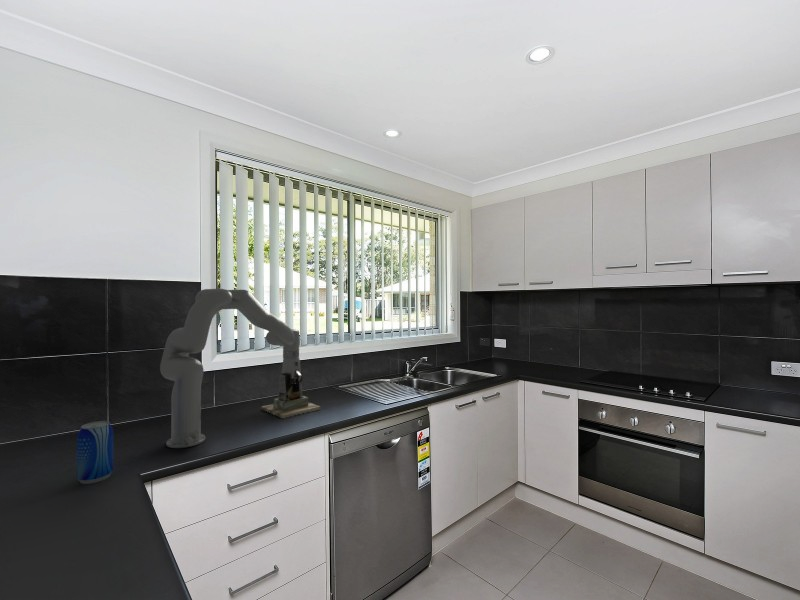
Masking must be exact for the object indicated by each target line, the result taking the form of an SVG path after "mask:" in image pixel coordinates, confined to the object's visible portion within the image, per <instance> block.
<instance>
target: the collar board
mask: <svg viewBox="0 0 800 600" xmlns="http://www.w3.org/2000/svg"><path fill="white" fill-rule="evenodd" d="M261 410H262V411H263V412H266V411H267V413H268V412H269V414H271V415H273V416H275V415H276V417H277V416H278V418H280V419H282V418H283V419H287V418H291V417H295V416H294V415H296V416H298V414H300V415H304V414H307V412H308V413H311V412H316V411H319V410H321V406H320V405H317V404H314V403H312V402H309V397H308V396H305V395H302V398H301V399H296V400H291V401H286V402H284V401H282V400H279V397H276V398H273V403H270V404H267V405H262V406H261ZM303 413H304V414H303ZM290 416H291V417H290ZM286 417H287V418H286Z"/></svg>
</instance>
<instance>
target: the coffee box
mask: <svg viewBox="0 0 800 600" xmlns="http://www.w3.org/2000/svg"><path fill="white" fill-rule="evenodd" d="M301 375H302V376H301V380H300V383H299V392H293V384H294V383H293V380H292V379H291V377H290V375H289V374H284V373H283V374H281V373H279V380H278V381H279V382H278V383H279V385H278V386H279V388H278V389H279V392H278V398H279V400H282V401H284V402H286V401H291V400H296V399H301V398H302V396H303V372H301ZM295 377H296V376H295ZM295 381H296V379H295Z"/></svg>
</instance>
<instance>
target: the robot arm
mask: <svg viewBox="0 0 800 600" xmlns="http://www.w3.org/2000/svg"><path fill="white" fill-rule="evenodd" d="M194 300H195V302H194V303H193V305H192V306H191V307H190V309H189V311H188V314H187V317H186V319H185V323H184V324H183V327H178V328H176V329H174V330H172V332H170V333H169V335H168V336H167V339H166V341H165V345H164V348H163V353H162V356H161V360H160V365H159V370H160V374H161V376H162V377H163V378H164V379H166V380H169V381H172V382H174V383H173V386H172V391H171V396H170V397H171V401H170V402H171V414H170V415H171V417H170V419H171V422H170V423H171V426H170V427H171V431H170V432H171V433H170V434H171V436H170V437H171V438H169V439H168V440H166V441H165V442H166V446H167V447H168V448H171V449H184V448H189V447H193V446H194V447H195V446H197V445H200V444H202V443H203V442H204V441H205V440H206V435H205V434H203V433H201V429H202V427H201V426H202V424H201V420H202V419H201V418H202V417H201V416H202V414H201V413H202V403H201V402H202V399H201V398H202V394H201V393H202V382H203V378H204V370H205V369H204V366H203V363H202V362H201V361H200V360H199V359H197V358H195V357H191V356H190V354H199V353H201V352H202V351H203V350H204V349H205V347H206V344H207V340H208V336H209V332H210V328H211V324H212V321H213V319H214V318H215V315H216V314H218V313H219V312H220V311H222V310H237V311H238V312H240V313H241V314H242V315H243V316H244V317H245V318H246V320H247V321H248V322H249V323H251V324H252V325H253V326H255V327H257V328H259V329H262V330H265V331H268V332H267V333H266V335H265V340H266V342H267V343H268V344H269V345H272V346H277V347H282V369H281V370H280V374H283V373H284V374H289V375H290V377H291V379H292V380H293V383H294V384H293V392H299V383H300V380H301V376H302V377H303V374H302V375H301V373H302V370H301V361H300V330H299V329H296V328H291V327H290V326H289V325H288V324H287V323H286V322H285V321H284V320H282V319H281V318H279V317H278V316H275V315H274V314H273V313H271V312H269V311H268V310H267V309H266V308H265V307H264V306H263V305H262V303H260V302H259V300H258V299H257V298H256V297H255V296H254V295H253V294H252V292H250V291H249V290H246V289H225V288H204V289H201V290H199V291H198V292H197V293H196V295H195V299H194ZM295 376H296V377H295ZM295 379H296V381H295Z"/></svg>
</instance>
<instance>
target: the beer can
mask: <svg viewBox="0 0 800 600" xmlns="http://www.w3.org/2000/svg"><path fill="white" fill-rule="evenodd" d="M110 423H111V422H110V421H108V420H99V421H91V422H88V423H84V424H82V425H81V426H80V430H79V431H78V433H77V435H76V479H77V480H78V481H79V483H80V484H82V485H90V484H96V483H98V482H102V481H104V480H107V479H108V478H110V477H111V474H112V473H113V472H114V428H113V427H112V425H111V424H110Z"/></svg>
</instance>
